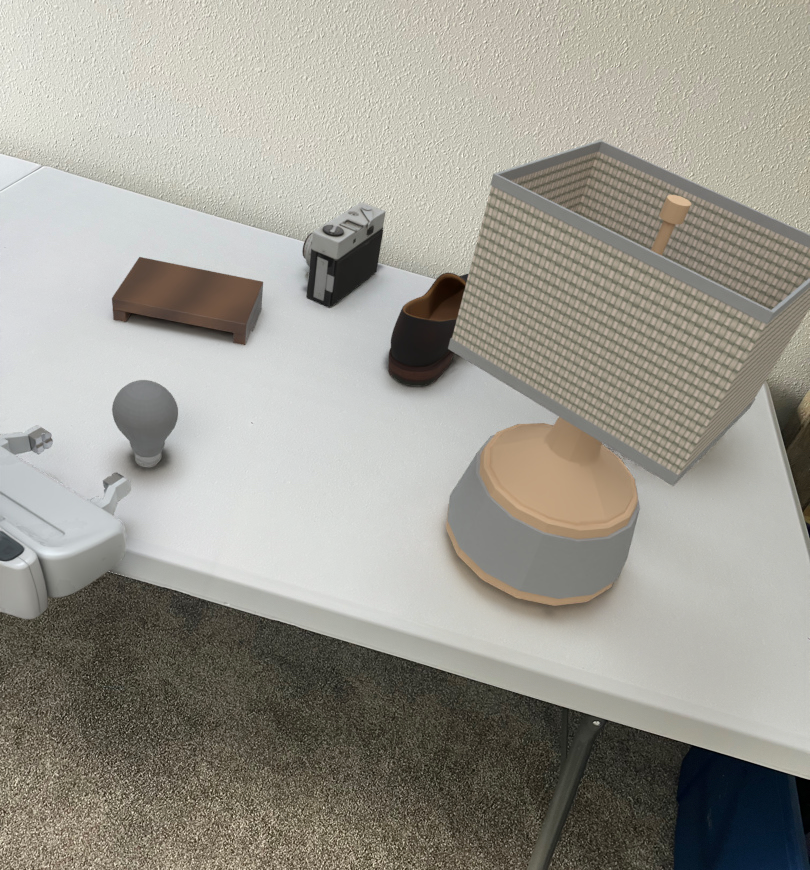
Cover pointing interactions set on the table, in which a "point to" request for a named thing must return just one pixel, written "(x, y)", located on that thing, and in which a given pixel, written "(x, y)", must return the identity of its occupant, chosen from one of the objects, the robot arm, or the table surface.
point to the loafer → (426, 332)
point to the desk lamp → (609, 354)
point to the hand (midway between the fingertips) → (85, 457)
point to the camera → (343, 253)
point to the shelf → (190, 297)
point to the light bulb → (145, 418)
